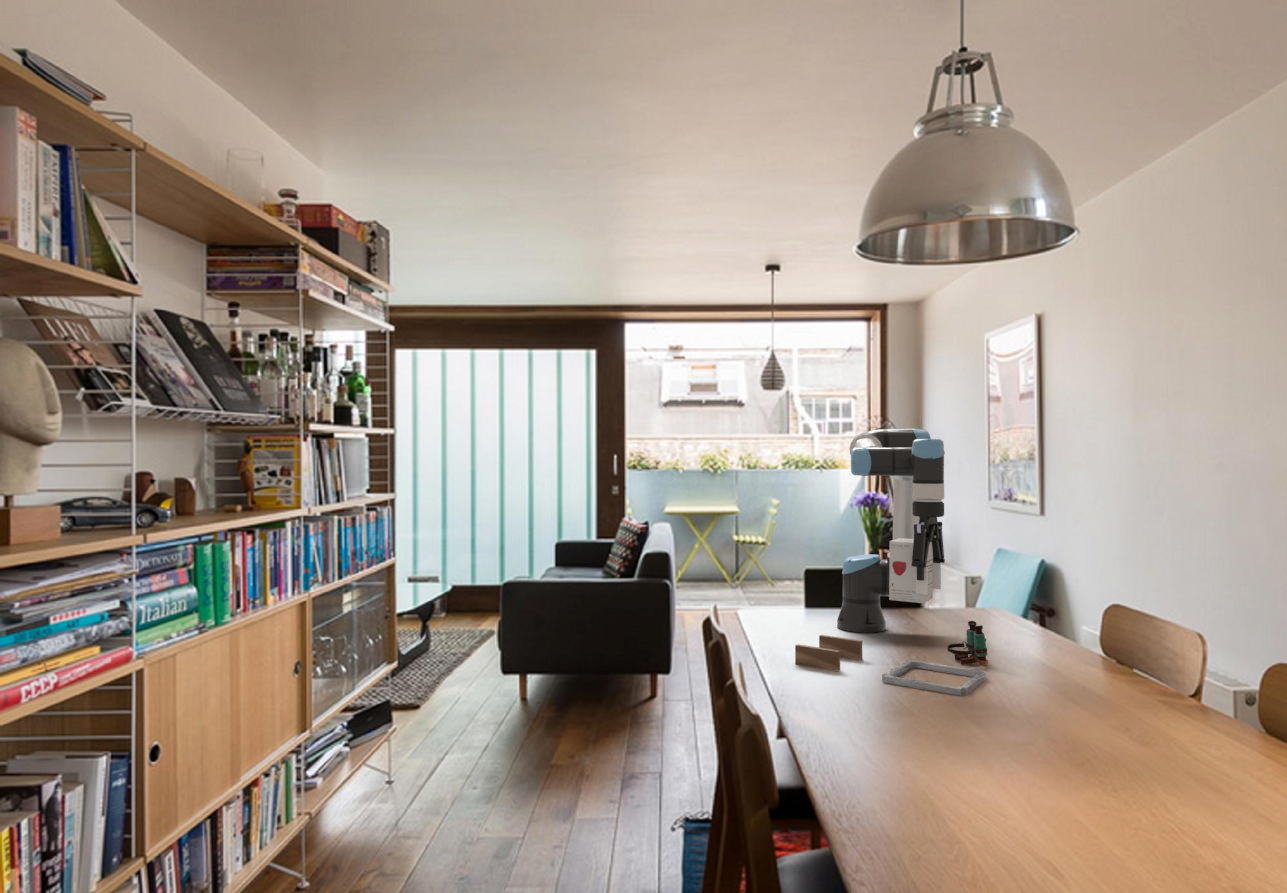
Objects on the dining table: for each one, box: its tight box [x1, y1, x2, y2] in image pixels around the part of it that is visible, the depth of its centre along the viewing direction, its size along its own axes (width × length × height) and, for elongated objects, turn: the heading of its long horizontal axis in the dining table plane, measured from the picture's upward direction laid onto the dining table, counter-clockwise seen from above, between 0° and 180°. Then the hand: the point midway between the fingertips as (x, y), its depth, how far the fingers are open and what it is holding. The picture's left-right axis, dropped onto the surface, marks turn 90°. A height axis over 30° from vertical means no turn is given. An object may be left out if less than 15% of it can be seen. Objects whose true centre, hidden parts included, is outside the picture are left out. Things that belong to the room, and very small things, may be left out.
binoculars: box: [946, 620, 989, 666], centre depth 223 cm, size 9×11×10 cm
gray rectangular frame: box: [881, 659, 987, 697], centre depth 206 cm, size 20×20×2 cm
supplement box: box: [888, 538, 934, 604], centre depth 209 cm, size 9×9×15 cm
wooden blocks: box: [794, 634, 863, 672], centre depth 224 cm, size 16×12×5 cm
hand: (928, 591), depth 207 cm, fingers closed on supplement box, 9 cm apart
